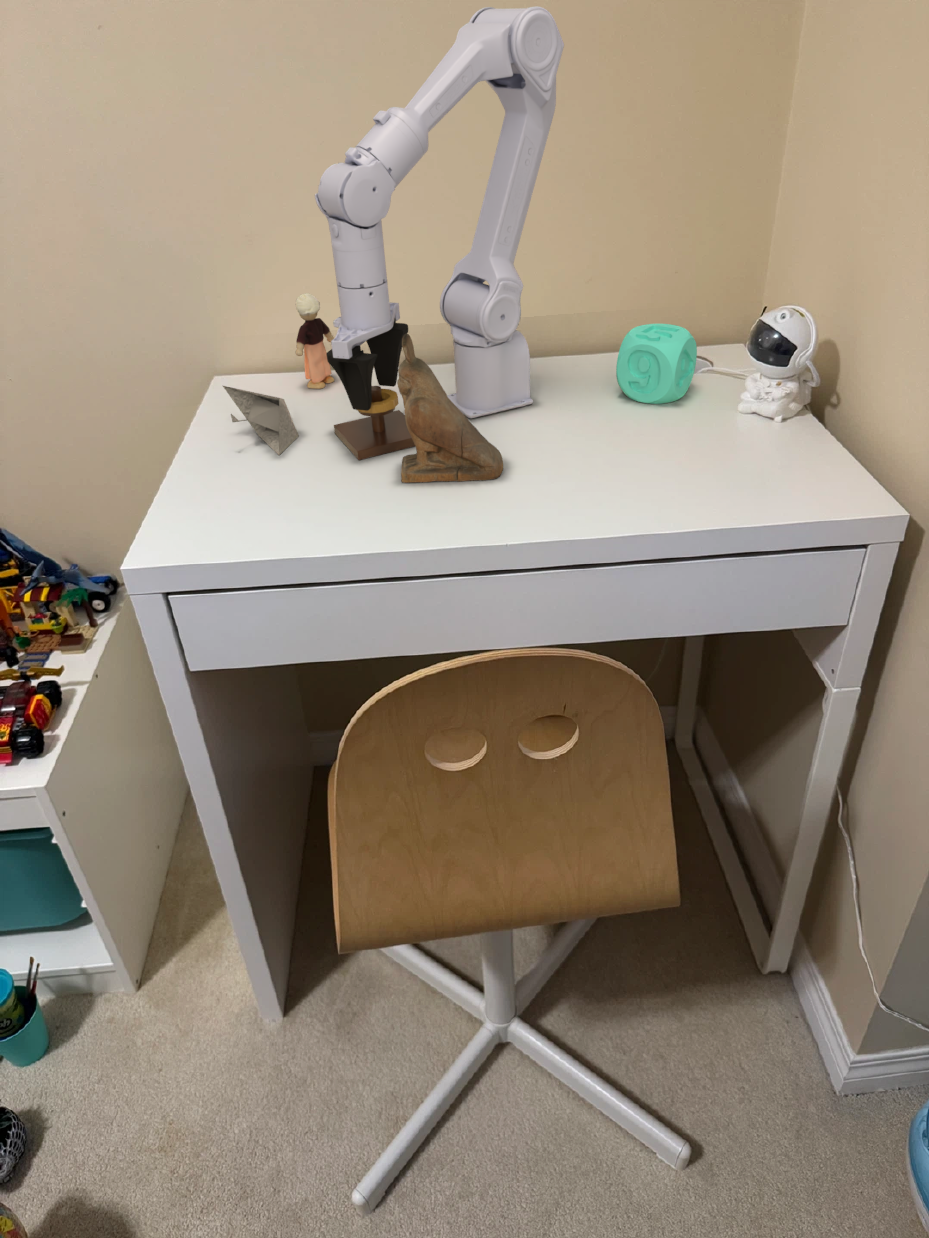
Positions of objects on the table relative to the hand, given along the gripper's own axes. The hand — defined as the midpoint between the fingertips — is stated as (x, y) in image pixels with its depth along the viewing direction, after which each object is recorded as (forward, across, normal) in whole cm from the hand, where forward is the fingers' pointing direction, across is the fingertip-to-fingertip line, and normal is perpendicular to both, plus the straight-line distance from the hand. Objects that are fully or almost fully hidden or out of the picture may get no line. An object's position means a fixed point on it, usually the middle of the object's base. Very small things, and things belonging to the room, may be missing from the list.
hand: (375, 396), depth 109 cm
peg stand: (+6, 0, 0) cm, 6 cm away
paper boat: (+6, +4, -15) cm, 16 cm away
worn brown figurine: (+6, +6, +12) cm, 15 cm away
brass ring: (+1, 0, 0) cm, 1 cm away
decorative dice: (+6, -22, +30) cm, 38 cm away
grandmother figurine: (+6, -15, -16) cm, 23 cm away
